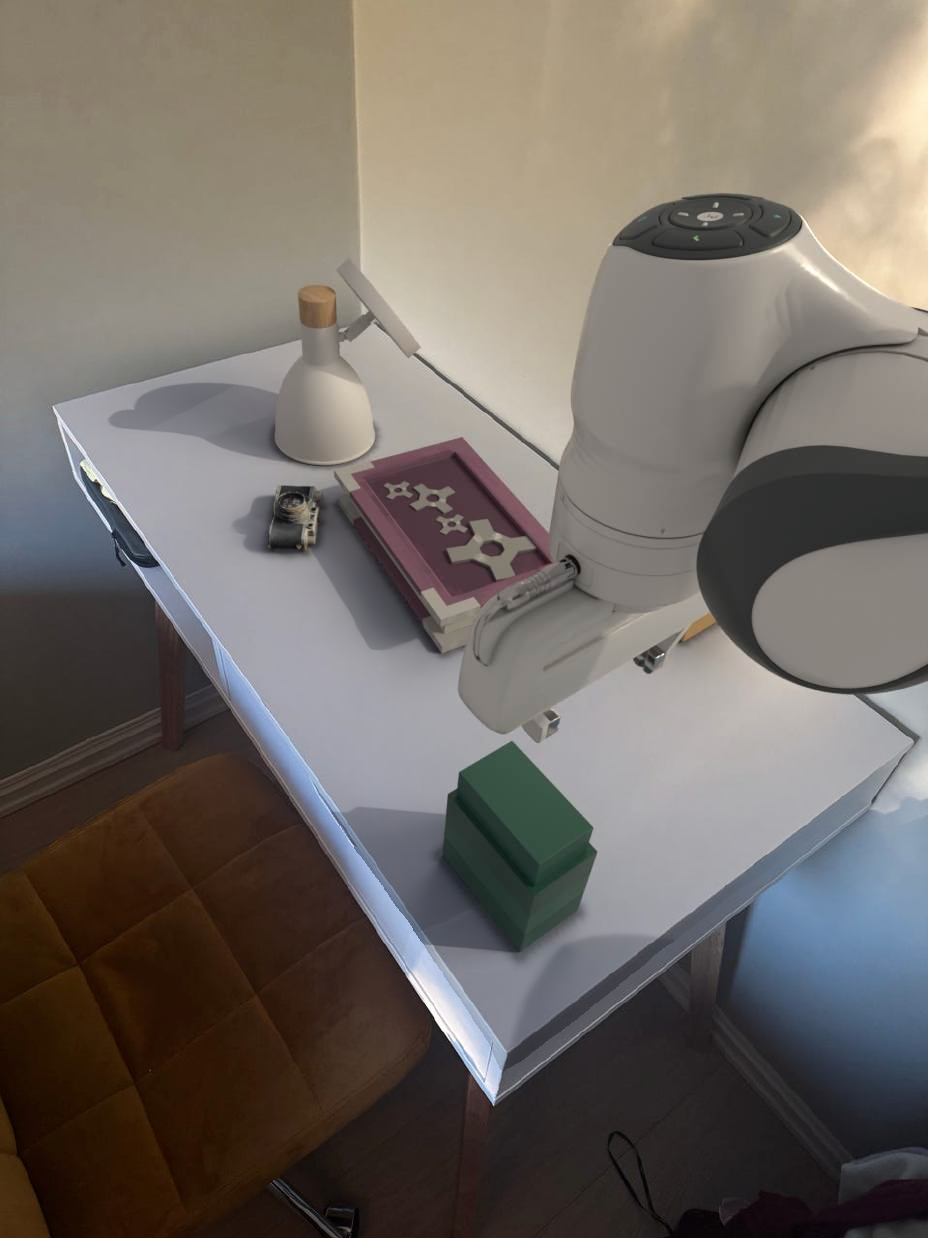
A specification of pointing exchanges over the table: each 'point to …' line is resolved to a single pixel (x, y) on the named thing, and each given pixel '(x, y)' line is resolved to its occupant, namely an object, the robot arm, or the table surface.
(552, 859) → the dark green cuboid
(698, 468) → the robot arm
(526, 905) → the green pile
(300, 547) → the camera
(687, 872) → the table surface
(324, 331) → the light fixture
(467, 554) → the book
